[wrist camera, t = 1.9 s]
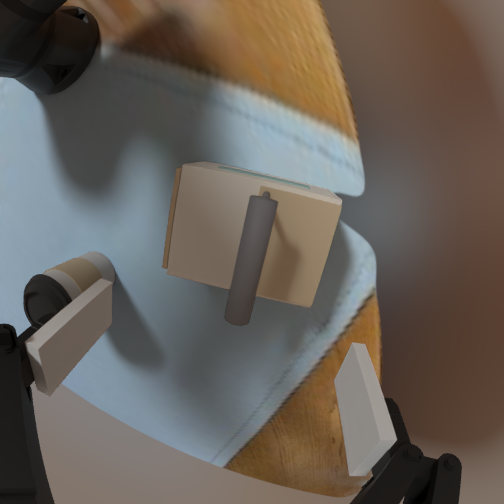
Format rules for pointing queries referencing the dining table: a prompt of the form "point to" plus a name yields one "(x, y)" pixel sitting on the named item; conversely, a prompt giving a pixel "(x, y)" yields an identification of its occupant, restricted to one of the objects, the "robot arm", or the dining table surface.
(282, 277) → the drawer with bar handle
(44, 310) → the coffee cup
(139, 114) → the dining table surface
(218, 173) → the carton
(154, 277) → the dining table surface
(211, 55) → the dining table surface
